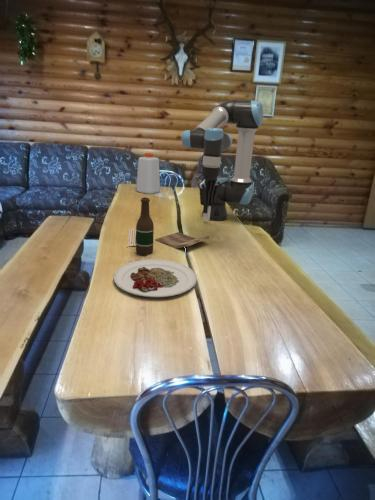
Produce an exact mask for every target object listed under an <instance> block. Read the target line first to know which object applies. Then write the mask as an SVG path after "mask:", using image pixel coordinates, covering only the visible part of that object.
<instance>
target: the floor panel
mask: <svg viewBox="0 0 375 500" xmlns="http://www.w3.org/2000/svg"><path fill="white" fill-rule="evenodd" d="M196 238H197V237H193V236H191V235H188V234H184V233H182V232H180V231H179V232H178V231H177V232H174V233H171V234H169V235H168V234H167V235H164V236H162V237H158V238H155V239H154V241H155V242H158V243H160V244H162V245H165V246H168V247H170V248H173V249H175V248H174V246H176V245H179V244H182V243H185V242H188V241H191V240H193V239H196Z"/></svg>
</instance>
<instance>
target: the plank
mask: <svg viewBox="0 0 375 500" xmlns="http://www.w3.org/2000/svg"><path fill="white" fill-rule="evenodd" d="M195 238H196V239H193V240H191V241H188V242H185V243H182V244H179V245H176V246H174V248H173V249H181V248H186V247H190V246H193V245H195V244H197V243H200V242H203V241H207V240H209V239H210V236H209V235H207V236H201V237H195Z"/></svg>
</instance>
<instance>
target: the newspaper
mask: <svg viewBox="0 0 375 500" xmlns="http://www.w3.org/2000/svg"><path fill="white" fill-rule="evenodd" d="M127 234H128V235H127V238H128V240H127V246H126V248H127V249H128V247H136V228H130V229H128V233H127Z"/></svg>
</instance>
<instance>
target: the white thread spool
mask: <svg viewBox="0 0 375 500" xmlns="http://www.w3.org/2000/svg"><path fill="white" fill-rule="evenodd" d="M137 161H138V162H137V176H136V188H135V189H136V192H137V191H138V193H141V194H145V195H152V194H157V193H160V192H161V179H160V178H161V177H160V176H161V175H160V159H159V157H155V156H154V153H151V152H146V153H144V156H140V157H138V160H137Z"/></svg>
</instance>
